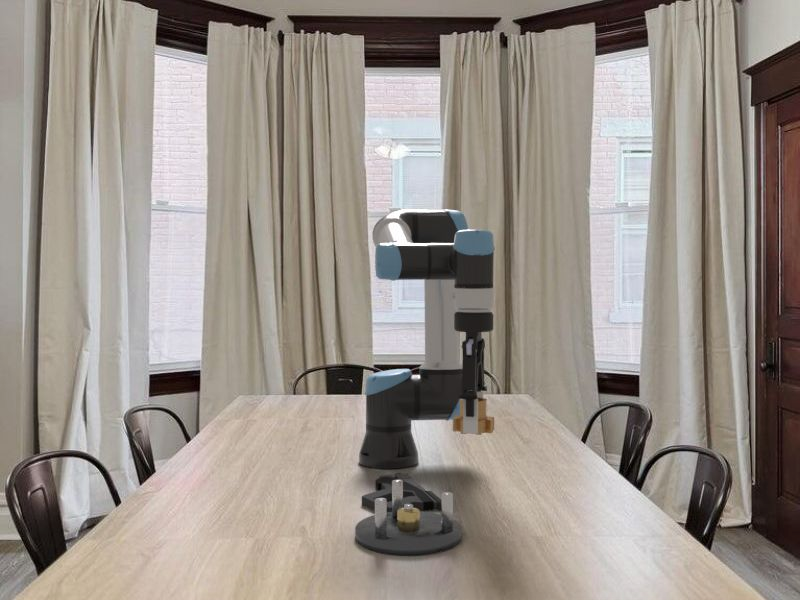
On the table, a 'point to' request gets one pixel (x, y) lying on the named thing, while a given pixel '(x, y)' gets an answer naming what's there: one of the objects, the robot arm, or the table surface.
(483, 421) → the planet gear
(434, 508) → the pistol
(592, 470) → the table surface
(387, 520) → the carrier
